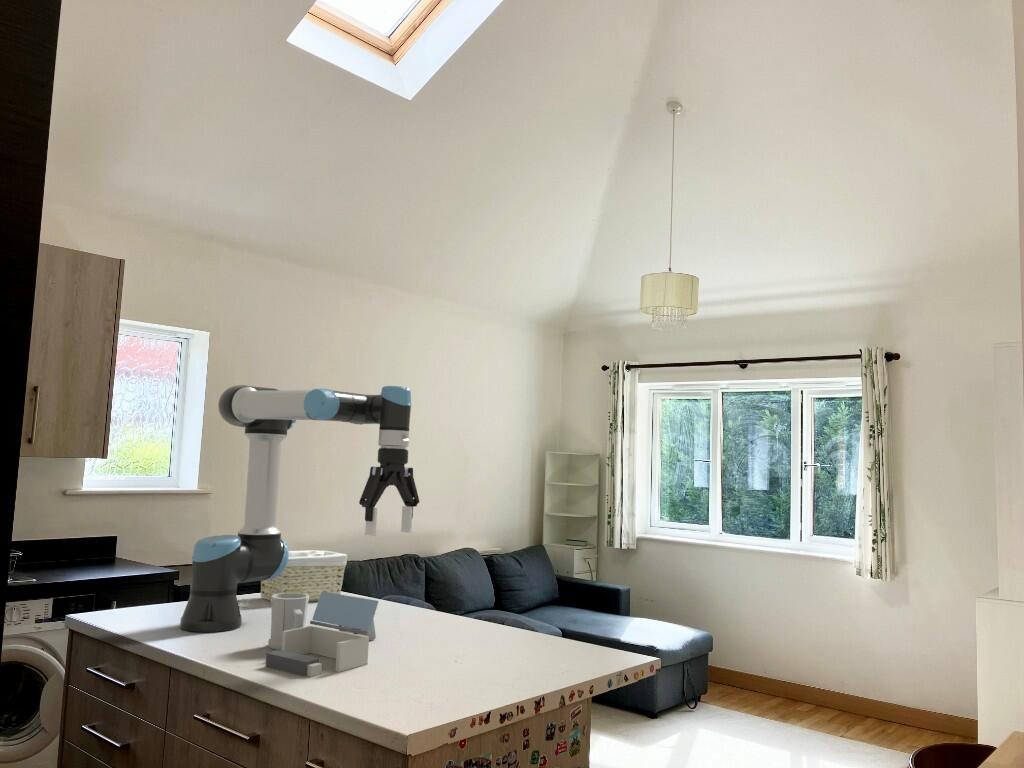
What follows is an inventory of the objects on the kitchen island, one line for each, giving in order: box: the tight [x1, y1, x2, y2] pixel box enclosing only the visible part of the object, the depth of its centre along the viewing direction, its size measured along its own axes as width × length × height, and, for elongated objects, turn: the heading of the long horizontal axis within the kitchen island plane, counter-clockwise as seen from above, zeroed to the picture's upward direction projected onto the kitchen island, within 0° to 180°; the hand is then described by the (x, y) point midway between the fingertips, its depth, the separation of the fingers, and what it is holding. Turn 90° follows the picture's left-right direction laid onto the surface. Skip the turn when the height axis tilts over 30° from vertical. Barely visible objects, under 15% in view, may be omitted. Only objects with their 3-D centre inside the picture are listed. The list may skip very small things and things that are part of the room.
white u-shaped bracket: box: [281, 624, 370, 673], centre depth 180 cm, size 18×9×6 cm, turn 58°
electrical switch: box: [338, 618, 377, 642], centre depth 202 cm, size 9×5×9 cm, turn 141°
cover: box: [309, 592, 379, 635], centre depth 186 cm, size 18×8×2 cm
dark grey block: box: [264, 650, 323, 678], centre depth 172 cm, size 13×4×3 cm, turn 58°
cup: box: [267, 593, 309, 651], centre depth 193 cm, size 10×9×12 cm
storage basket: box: [260, 549, 348, 602], centre depth 259 cm, size 24×16×15 cm
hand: (388, 533), depth 198 cm, fingers open, 13 cm apart
